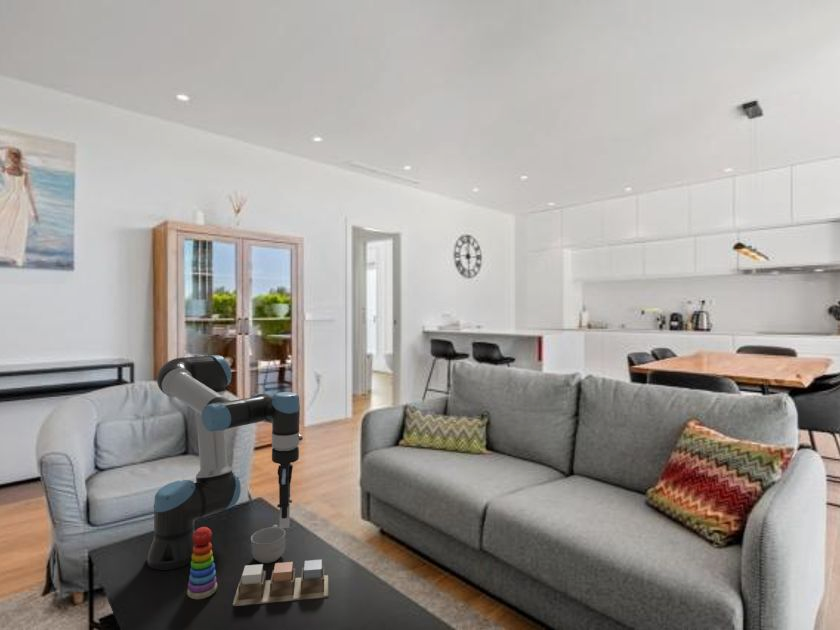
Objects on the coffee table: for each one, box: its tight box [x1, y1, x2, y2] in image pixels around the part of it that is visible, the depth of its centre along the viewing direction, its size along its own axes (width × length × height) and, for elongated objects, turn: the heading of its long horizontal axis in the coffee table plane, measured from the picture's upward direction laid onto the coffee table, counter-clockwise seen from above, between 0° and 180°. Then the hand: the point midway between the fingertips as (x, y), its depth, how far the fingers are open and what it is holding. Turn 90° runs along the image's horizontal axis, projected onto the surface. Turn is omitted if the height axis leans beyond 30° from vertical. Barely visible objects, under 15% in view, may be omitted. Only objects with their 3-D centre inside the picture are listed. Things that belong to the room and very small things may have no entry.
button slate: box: [303, 559, 323, 579], centre depth 140 cm, size 5×5×4 cm
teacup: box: [250, 524, 286, 564], centre depth 156 cm, size 14×11×8 cm
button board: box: [232, 565, 329, 607], centre depth 138 cm, size 26×10×4 cm, turn 101°
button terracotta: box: [273, 561, 294, 582], centre depth 138 cm, size 5×5×4 cm
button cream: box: [241, 563, 264, 585], centre depth 136 cm, size 5×5×4 cm
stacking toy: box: [186, 526, 218, 600], centre depth 136 cm, size 8×8×19 cm
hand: (284, 526), depth 137 cm, fingers closed
